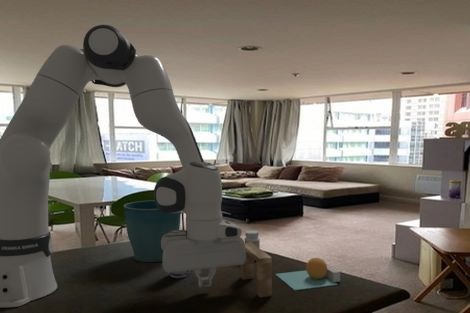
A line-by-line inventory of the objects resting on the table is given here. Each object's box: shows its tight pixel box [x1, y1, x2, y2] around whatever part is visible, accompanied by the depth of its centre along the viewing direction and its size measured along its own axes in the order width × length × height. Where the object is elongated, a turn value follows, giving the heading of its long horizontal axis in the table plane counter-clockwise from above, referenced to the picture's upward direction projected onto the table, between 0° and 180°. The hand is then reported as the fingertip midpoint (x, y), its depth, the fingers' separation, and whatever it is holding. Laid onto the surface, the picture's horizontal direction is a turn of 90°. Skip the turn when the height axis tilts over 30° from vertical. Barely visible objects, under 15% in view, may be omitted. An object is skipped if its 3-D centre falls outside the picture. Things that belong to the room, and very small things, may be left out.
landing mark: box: [274, 269, 339, 292], centre depth 103 cm, size 12×12×1 cm
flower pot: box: [123, 200, 182, 263], centre depth 124 cm, size 18×18×17 cm
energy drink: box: [169, 229, 190, 279], centre depth 107 cm, size 5×5×12 cm
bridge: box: [240, 242, 273, 298], centre depth 99 cm, size 3×14×9 cm, turn 17°
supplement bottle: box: [243, 229, 261, 261], centre depth 122 cm, size 5×5×8 cm
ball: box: [305, 257, 327, 279], centre depth 104 cm, size 6×6×6 cm
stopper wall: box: [325, 263, 341, 283], centre depth 105 cm, size 2×8×2 cm, turn 17°
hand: (205, 285), depth 95 cm, fingers closed
